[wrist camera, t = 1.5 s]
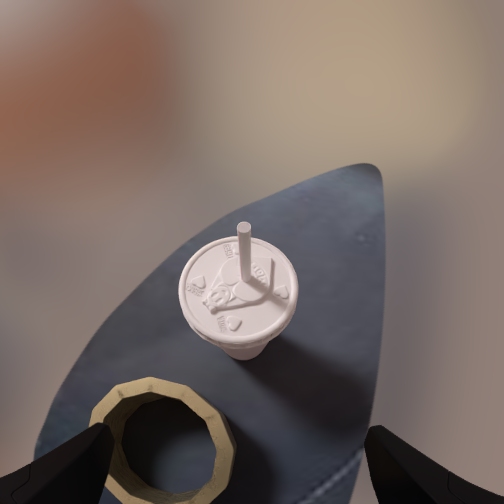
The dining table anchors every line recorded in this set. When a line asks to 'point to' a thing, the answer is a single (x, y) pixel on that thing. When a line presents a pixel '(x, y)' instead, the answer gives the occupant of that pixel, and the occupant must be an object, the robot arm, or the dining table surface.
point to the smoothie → (238, 293)
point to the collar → (120, 475)
